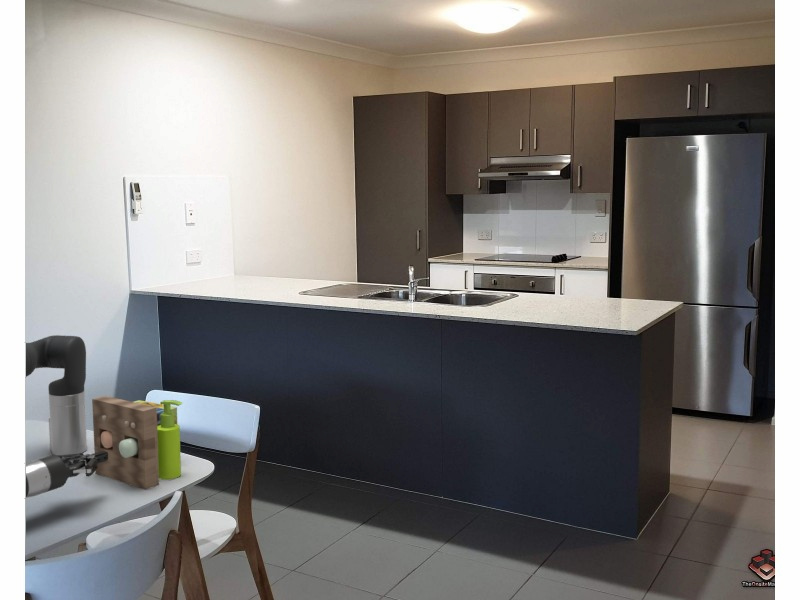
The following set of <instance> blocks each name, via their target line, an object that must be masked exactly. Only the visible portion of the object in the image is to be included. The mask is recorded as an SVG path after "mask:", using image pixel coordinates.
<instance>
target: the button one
mask: <svg viewBox="0 0 800 600" xmlns="http://www.w3.org/2000/svg"><path fill="white" fill-rule="evenodd" d="M101 442H102V444H103V446H104V447H105V448H111V447H113V442H112V432H111V431H104V432H103V433H102V434H101Z"/></svg>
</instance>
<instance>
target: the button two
mask: <svg viewBox="0 0 800 600" xmlns="http://www.w3.org/2000/svg"><path fill="white" fill-rule="evenodd" d="M119 451H120V453H121V455H122V456H123V457H124V458H128V457H131V456H134V455H137V454H138V439H136V438H133V437H132V438H129V439H126V440H122V441H121V442H120V444H119Z"/></svg>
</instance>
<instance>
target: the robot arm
mask: <svg viewBox="0 0 800 600" xmlns="http://www.w3.org/2000/svg"><path fill="white" fill-rule="evenodd" d="M25 343H26V377H25V378H27V377H29V376H30V375H31V374H32V373H33V372H34V371H35V369H42V368H43V369H44V368H45V369H48V368H49V369H64V372H63V377H61V378H58V379H55V380H53V381H51V382H50V383H49V384H48V402H49V403H48V405H49V417H48V430H49V431H48V432H49V433H48V435H49V450H50V451H51V454H52V455H49V456H45V457H41V458H37V459H34V460H32V461H29V462H25V463H26V498H27V499H28V498H32V497H36V496H39V495H42V494H45V493H47V492H50V491H53V490H57V489H59V488H63V487H64V485H65V484H66V483H67V481H68V479H69V478H75V477H78V476H79V475H80V474H85V477H91V476H92V475H94V473H95V471H96V469H97V468H98V463H101V462H104V461H107V460H108V452H106V451H100V452H97V453H95V452H94V453H92V454H90V453H86V454H84V452H86V451H87V449H88V443H87V441H88V439H87V420H86V419H87V417H86V399H85V398H86V396H85V383H86V381H87V380H86V379H87V377H86V376H87V347H86V344H85V341H84V340H83V339H82V337H80V336H77V335H76V336H75V335H60V334H59V335H57V334H55V335H50V336H49V335H48V336H45V337H43V338H41V339H38V340H35V341H31V342H25ZM26 498H25V499H26Z"/></svg>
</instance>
